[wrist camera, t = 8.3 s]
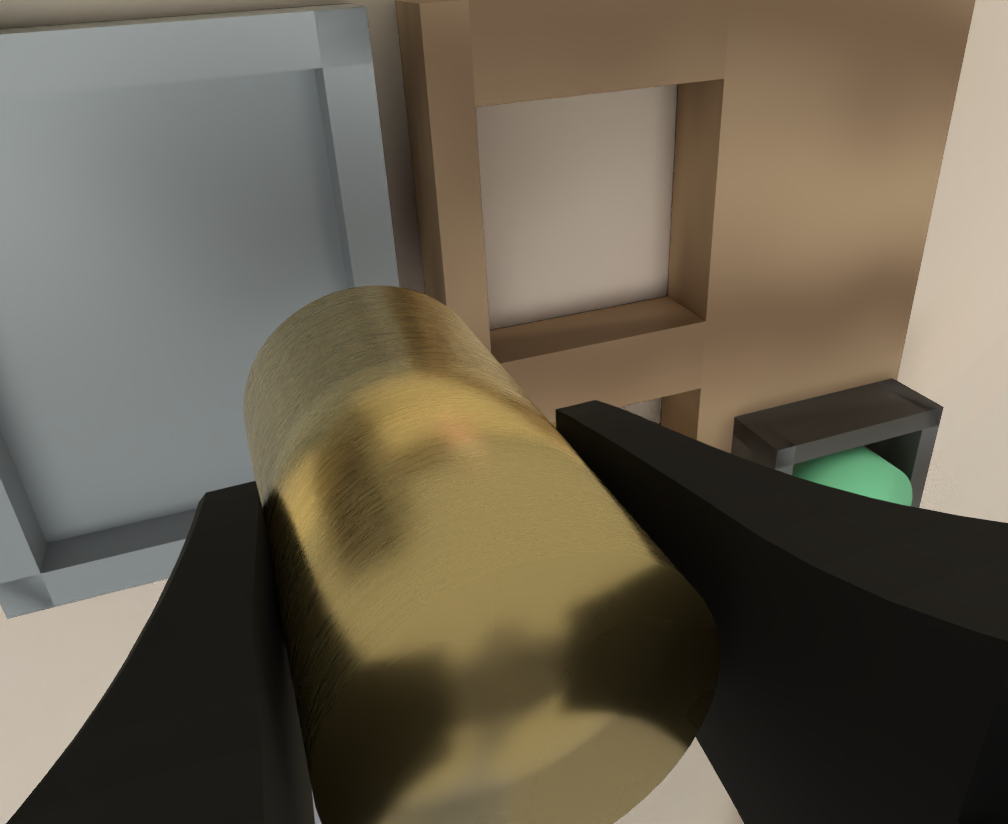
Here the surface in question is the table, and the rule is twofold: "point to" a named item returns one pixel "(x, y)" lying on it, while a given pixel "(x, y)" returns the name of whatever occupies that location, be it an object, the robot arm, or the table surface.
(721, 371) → the pallet board
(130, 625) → the table surface
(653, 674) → the cylinder
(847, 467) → the button
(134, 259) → the tote
